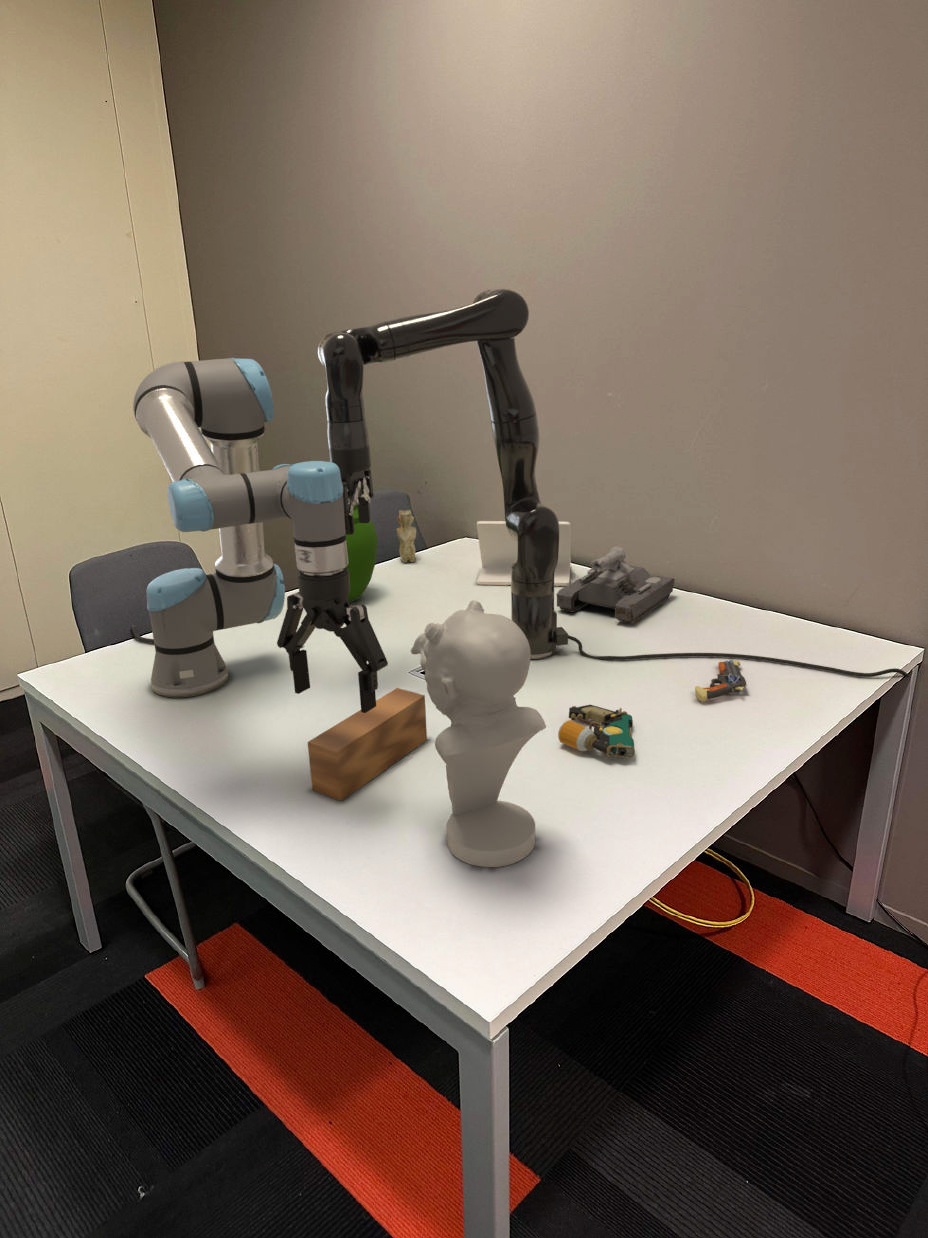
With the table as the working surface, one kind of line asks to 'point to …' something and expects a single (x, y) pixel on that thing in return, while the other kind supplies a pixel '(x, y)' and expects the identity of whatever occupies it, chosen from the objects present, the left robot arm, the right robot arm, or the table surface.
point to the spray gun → (599, 731)
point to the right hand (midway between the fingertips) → (357, 528)
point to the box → (367, 743)
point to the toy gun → (723, 682)
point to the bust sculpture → (481, 729)
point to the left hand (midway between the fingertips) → (334, 699)
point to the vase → (361, 556)
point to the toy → (616, 588)
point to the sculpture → (406, 535)
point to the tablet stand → (514, 554)
